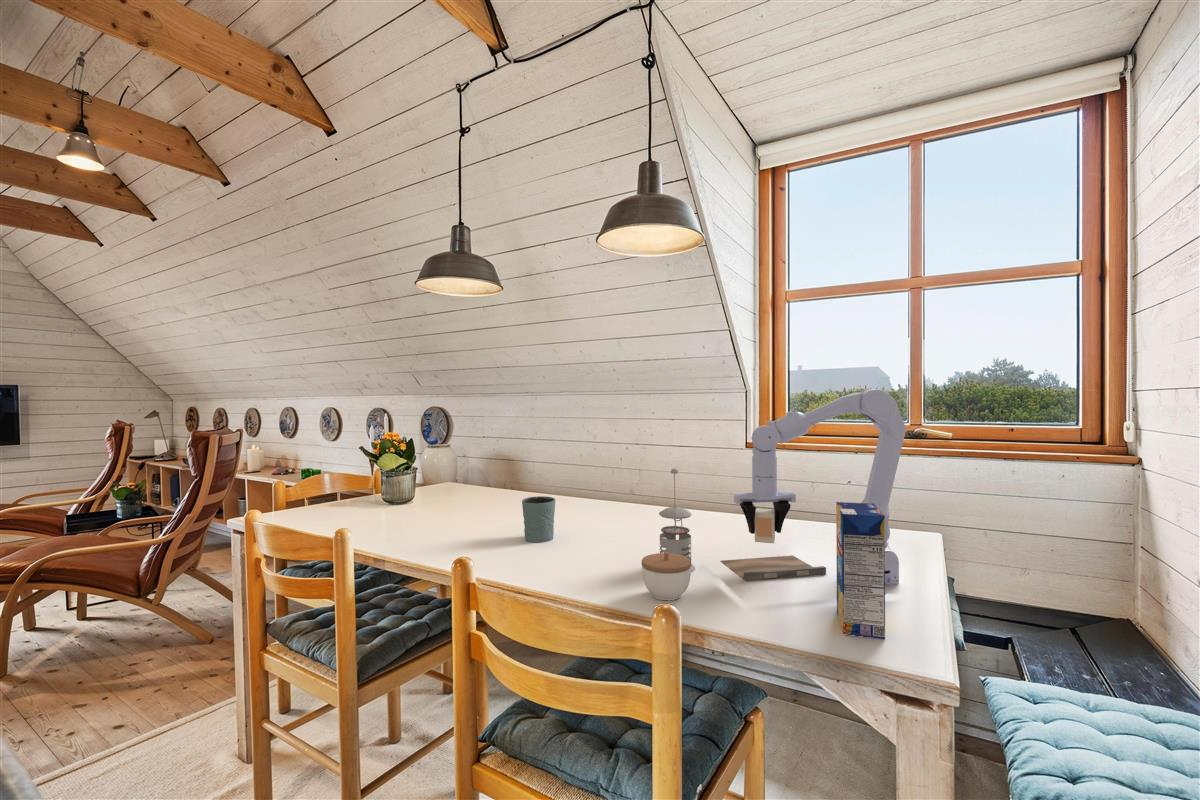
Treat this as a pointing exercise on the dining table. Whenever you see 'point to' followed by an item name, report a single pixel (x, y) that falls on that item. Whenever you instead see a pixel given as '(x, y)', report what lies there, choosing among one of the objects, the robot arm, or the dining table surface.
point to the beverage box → (860, 569)
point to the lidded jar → (666, 575)
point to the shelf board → (772, 568)
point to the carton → (764, 526)
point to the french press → (676, 531)
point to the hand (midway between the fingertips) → (764, 532)
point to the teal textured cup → (538, 518)
